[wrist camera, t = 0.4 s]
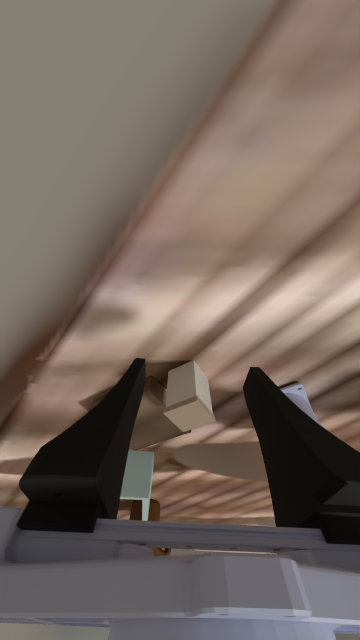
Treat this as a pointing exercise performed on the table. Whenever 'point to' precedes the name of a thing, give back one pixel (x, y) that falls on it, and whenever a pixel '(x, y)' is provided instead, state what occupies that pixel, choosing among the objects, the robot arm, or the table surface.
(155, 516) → the mug
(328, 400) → the table surface
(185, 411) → the beige rectangular block
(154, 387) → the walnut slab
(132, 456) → the l-shaped corner panel
